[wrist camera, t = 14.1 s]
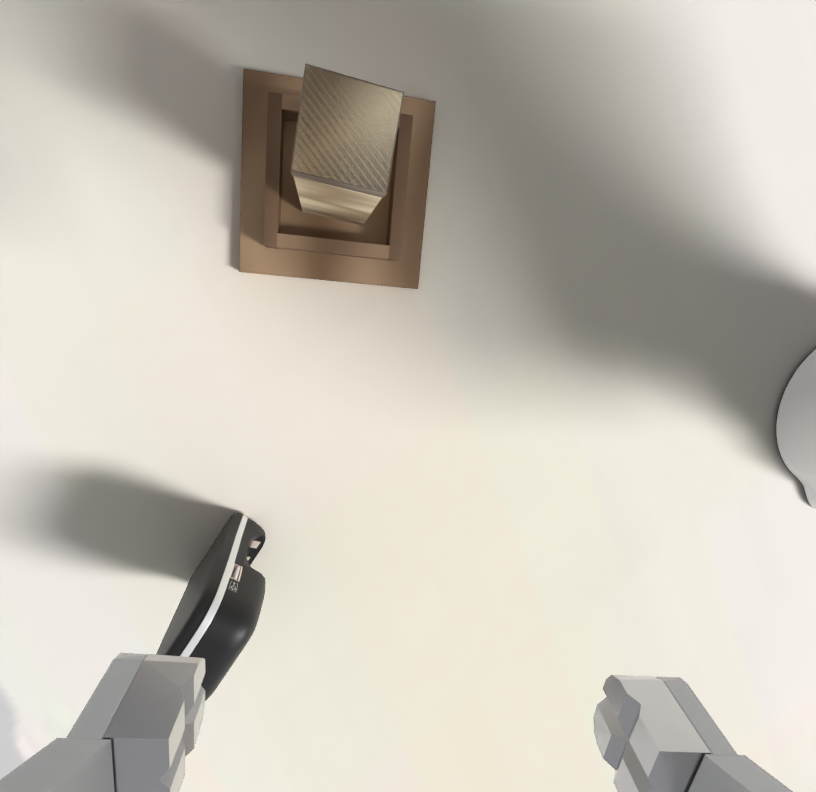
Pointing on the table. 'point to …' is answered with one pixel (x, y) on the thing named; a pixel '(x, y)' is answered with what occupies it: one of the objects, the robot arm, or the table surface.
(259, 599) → the battery charger
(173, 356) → the table surface
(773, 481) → the table surface
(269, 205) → the dock
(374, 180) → the tall wooden pillar
